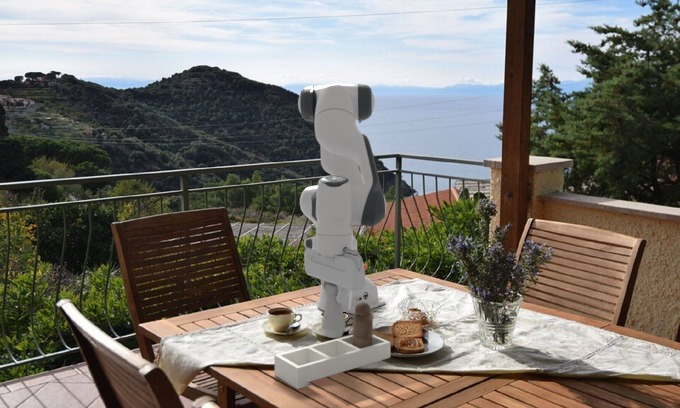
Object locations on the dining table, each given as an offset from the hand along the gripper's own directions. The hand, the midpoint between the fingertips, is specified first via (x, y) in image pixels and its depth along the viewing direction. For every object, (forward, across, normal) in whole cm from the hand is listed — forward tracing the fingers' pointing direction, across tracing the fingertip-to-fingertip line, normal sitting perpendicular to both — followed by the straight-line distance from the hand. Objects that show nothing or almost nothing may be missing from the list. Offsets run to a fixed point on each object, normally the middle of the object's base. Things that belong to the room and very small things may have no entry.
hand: (334, 300), depth 163 cm
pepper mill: (+16, 0, -9) cm, 19 cm away
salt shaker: (+9, 0, 0) cm, 9 cm away
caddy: (+17, 0, 0) cm, 17 cm away
